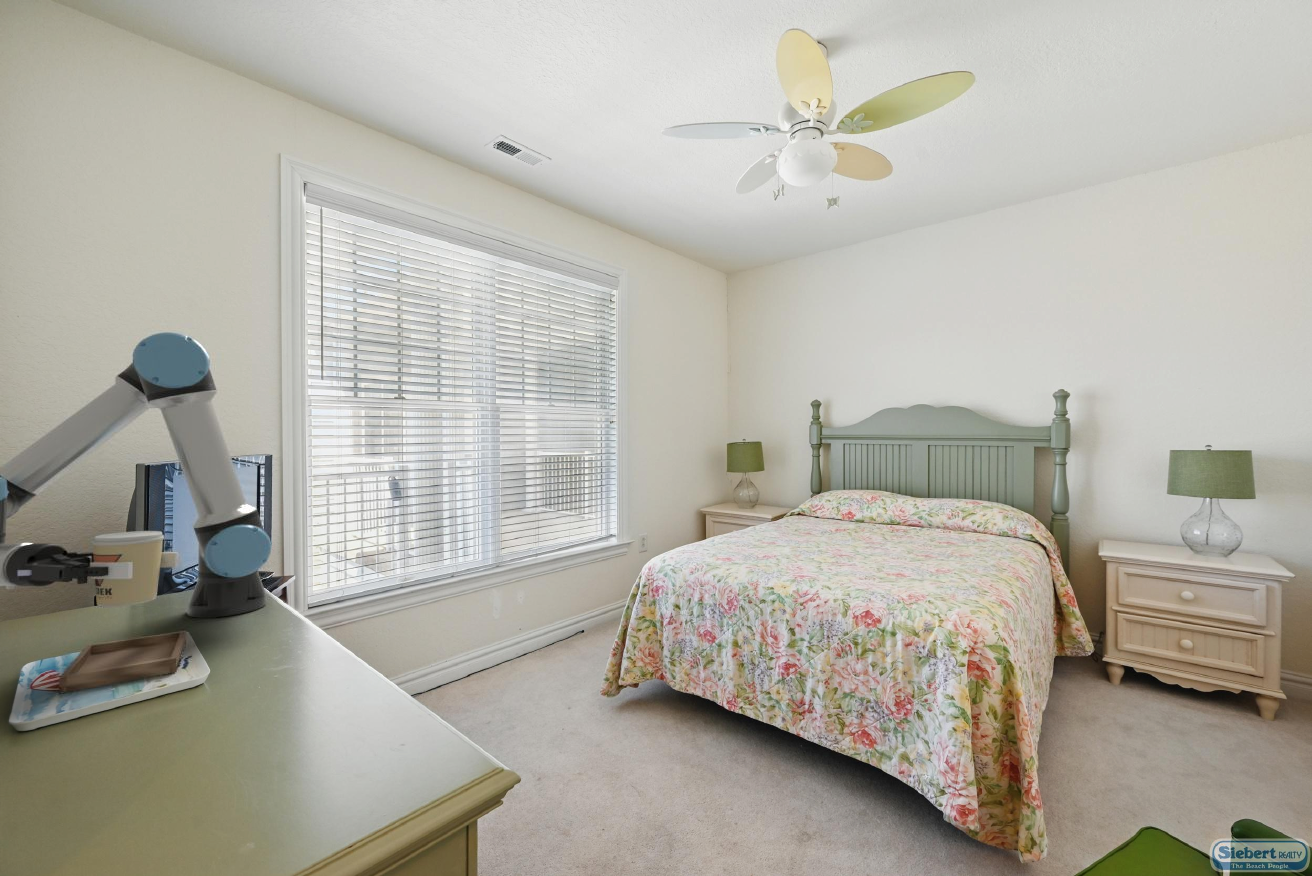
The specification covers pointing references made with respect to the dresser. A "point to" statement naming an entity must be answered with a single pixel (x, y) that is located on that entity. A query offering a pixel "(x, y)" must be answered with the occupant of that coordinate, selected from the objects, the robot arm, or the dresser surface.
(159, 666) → the walnut tray
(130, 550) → the coffee cup
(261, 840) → the dresser surface
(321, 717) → the dresser surface
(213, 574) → the robot arm
